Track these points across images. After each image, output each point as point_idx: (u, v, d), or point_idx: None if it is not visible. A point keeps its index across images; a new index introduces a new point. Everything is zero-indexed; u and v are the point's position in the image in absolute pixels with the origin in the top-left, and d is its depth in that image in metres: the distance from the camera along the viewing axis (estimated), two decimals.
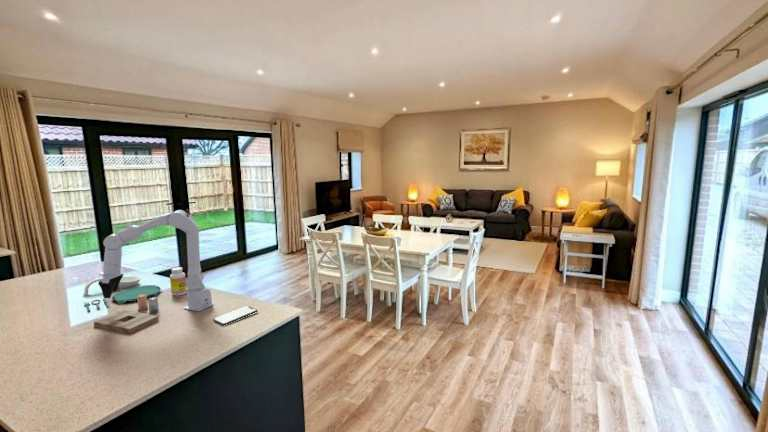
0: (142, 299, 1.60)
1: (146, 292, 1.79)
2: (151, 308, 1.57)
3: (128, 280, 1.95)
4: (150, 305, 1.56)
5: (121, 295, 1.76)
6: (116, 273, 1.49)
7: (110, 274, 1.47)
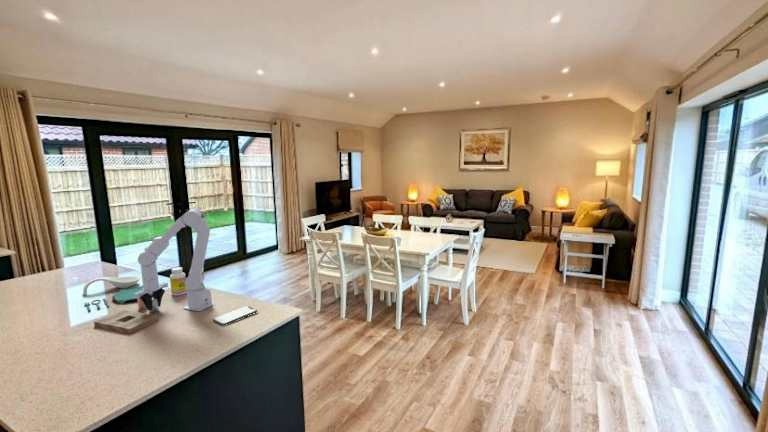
0: None
1: None
2: None
3: (127, 280, 1.95)
4: None
5: (121, 295, 1.76)
6: (150, 288, 1.54)
7: (145, 289, 1.54)
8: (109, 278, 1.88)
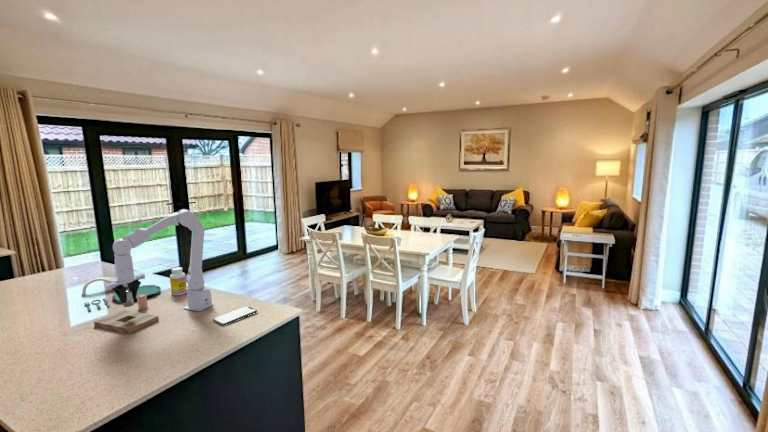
0: (142, 299, 1.60)
1: (146, 292, 1.80)
2: None
3: None
4: None
5: None
6: (124, 279, 1.44)
7: (119, 280, 1.43)
8: (108, 278, 1.88)
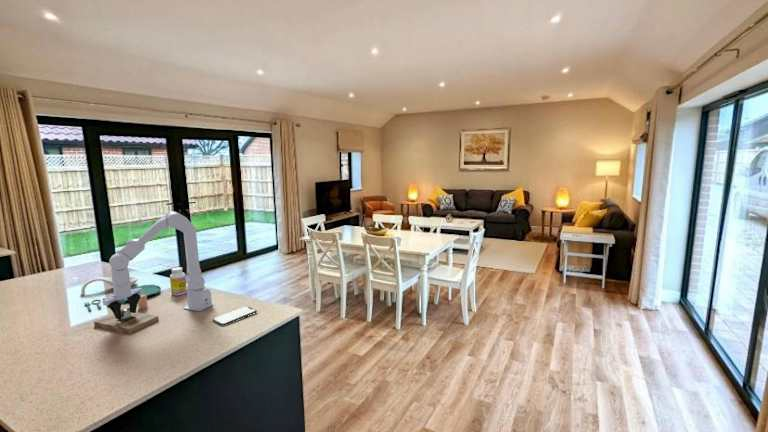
0: (142, 299, 1.60)
1: (146, 291, 1.80)
2: (123, 320, 1.45)
3: None
4: (122, 317, 1.45)
5: None
6: (121, 295, 1.43)
7: (116, 295, 1.43)
8: (107, 278, 1.88)
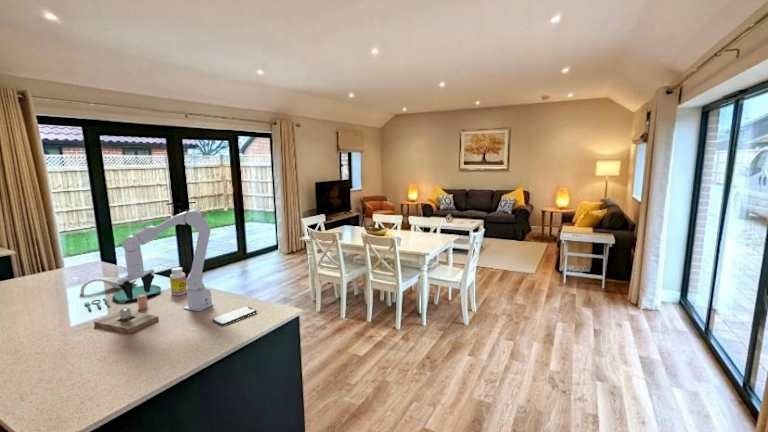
0: (142, 299, 1.60)
1: None
2: (123, 320, 1.45)
3: None
4: (122, 316, 1.45)
5: (121, 295, 1.76)
6: (135, 274, 1.49)
7: (129, 275, 1.49)
8: (106, 278, 1.88)
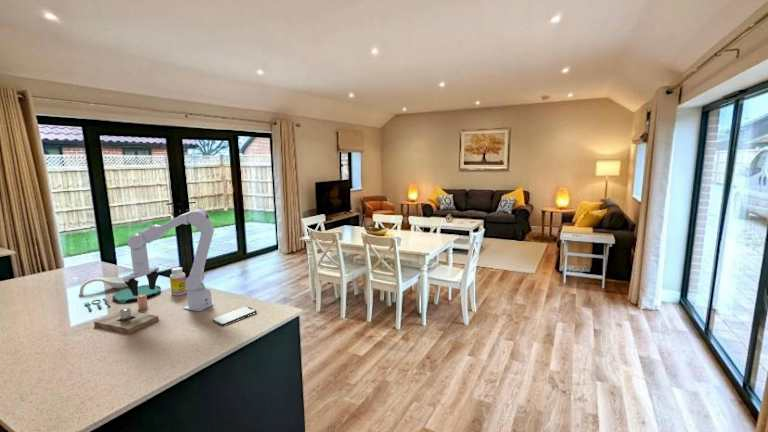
0: (142, 299, 1.60)
1: (146, 291, 1.80)
2: (123, 320, 1.45)
3: None
4: (122, 317, 1.45)
5: (121, 295, 1.76)
6: (140, 272, 1.52)
7: (135, 273, 1.52)
8: (106, 278, 1.88)
